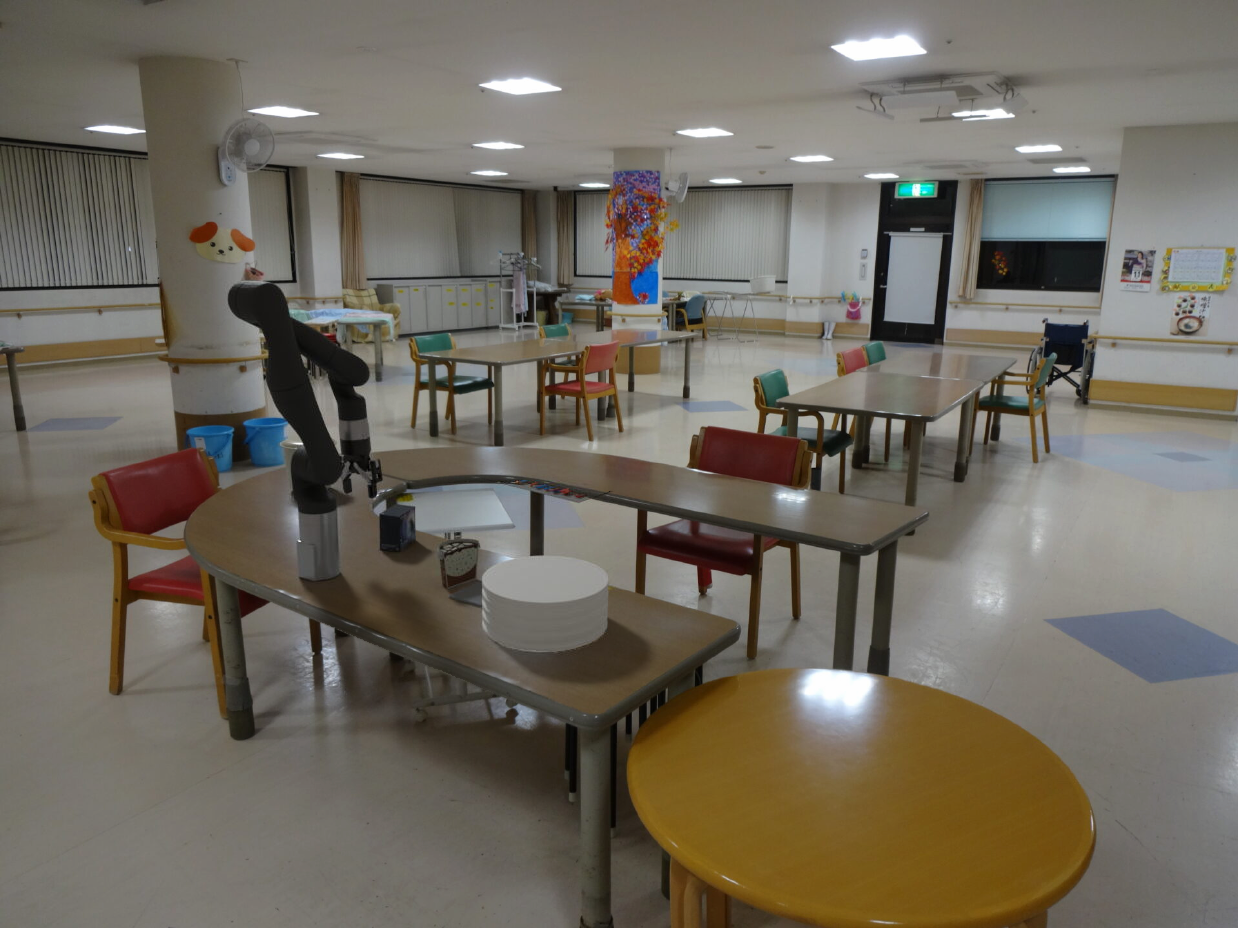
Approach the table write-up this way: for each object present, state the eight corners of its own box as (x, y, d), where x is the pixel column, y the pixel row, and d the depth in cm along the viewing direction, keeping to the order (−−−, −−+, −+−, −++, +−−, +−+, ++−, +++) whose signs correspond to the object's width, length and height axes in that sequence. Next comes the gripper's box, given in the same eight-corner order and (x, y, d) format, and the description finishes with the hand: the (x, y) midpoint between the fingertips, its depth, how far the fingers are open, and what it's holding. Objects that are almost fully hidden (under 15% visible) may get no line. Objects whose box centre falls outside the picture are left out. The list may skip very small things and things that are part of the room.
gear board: (613, 485, 301) (578, 497, 285) (612, 492, 301) (578, 504, 286) (518, 463, 326) (481, 473, 311) (518, 470, 327) (481, 480, 312)
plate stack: (545, 590, 212) (545, 547, 210) (632, 624, 195) (634, 577, 192) (456, 625, 192) (455, 577, 189) (545, 666, 174) (545, 614, 171)
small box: (400, 552, 235) (399, 516, 232) (378, 550, 236) (377, 513, 233) (417, 540, 245) (416, 505, 242) (396, 538, 246) (394, 503, 244)
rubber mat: (482, 607, 201) (482, 605, 201) (449, 597, 206) (449, 595, 206) (528, 583, 216) (528, 581, 216) (496, 575, 221) (496, 572, 221)
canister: (348, 484, 298) (345, 425, 293) (323, 499, 281) (320, 436, 275) (299, 481, 300) (296, 422, 295) (272, 495, 283) (267, 432, 278)
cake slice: (464, 571, 223) (464, 534, 221) (480, 577, 219) (480, 540, 217) (426, 584, 214) (425, 546, 211) (442, 590, 210) (441, 552, 208)
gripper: (323, 435, 220) (329, 495, 225) (364, 441, 214) (370, 503, 218) (345, 429, 227) (350, 487, 231) (386, 435, 220) (391, 495, 225)
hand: (360, 495), depth 225 cm, fingers open, 8 cm apart
